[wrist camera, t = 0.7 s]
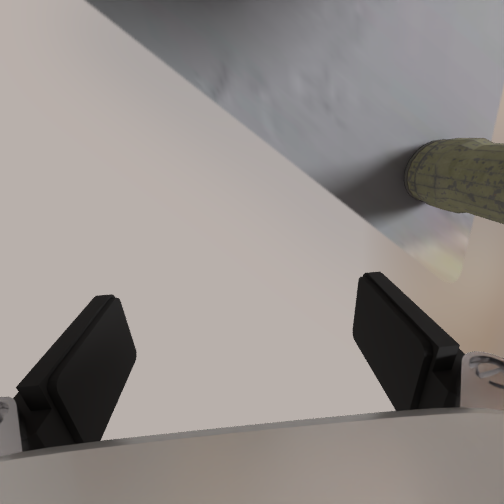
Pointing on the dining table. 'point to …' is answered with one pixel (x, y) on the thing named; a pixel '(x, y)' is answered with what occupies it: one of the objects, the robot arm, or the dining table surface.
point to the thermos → (459, 176)
